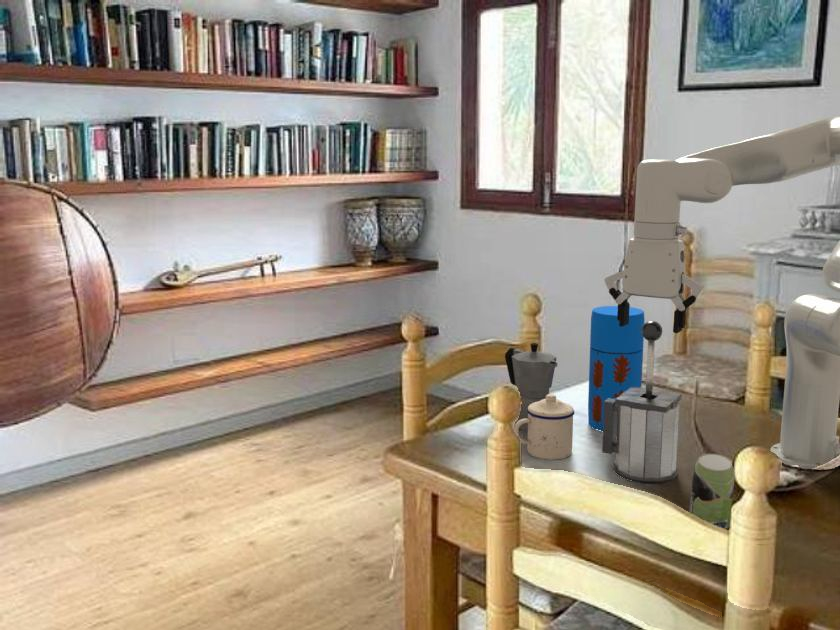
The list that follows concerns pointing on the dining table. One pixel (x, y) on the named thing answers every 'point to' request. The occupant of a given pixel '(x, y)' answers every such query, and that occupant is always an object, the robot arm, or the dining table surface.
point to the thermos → (613, 358)
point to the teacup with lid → (549, 428)
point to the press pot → (642, 434)
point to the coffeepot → (530, 376)
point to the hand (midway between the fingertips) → (650, 328)
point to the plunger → (650, 352)
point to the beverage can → (712, 489)
